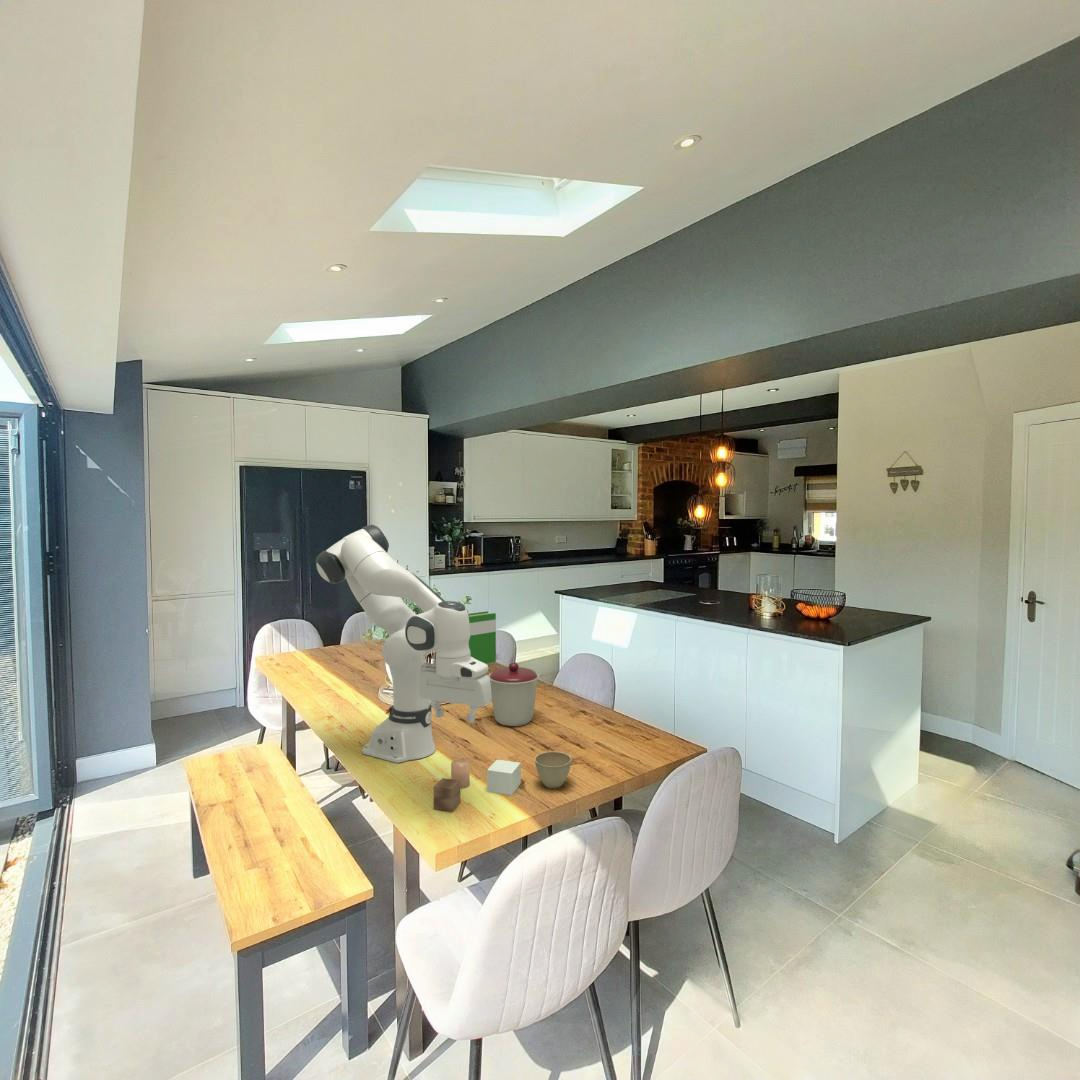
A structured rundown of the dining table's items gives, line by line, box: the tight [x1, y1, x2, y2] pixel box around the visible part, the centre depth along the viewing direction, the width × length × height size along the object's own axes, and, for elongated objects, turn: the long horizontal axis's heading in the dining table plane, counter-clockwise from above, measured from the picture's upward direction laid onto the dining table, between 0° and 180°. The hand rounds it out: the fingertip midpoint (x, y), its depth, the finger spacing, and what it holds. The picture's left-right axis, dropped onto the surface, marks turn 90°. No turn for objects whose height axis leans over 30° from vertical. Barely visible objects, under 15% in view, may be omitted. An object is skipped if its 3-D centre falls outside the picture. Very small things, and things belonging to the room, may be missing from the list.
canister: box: [487, 662, 540, 727], centre depth 212 cm, size 18×18×21 cm
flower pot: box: [534, 750, 572, 789], centre depth 164 cm, size 10×10×7 cm
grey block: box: [486, 759, 522, 796], centre depth 162 cm, size 7×7×6 cm
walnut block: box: [432, 777, 461, 814], centre depth 151 cm, size 5×5×6 cm
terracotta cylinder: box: [450, 758, 471, 790], centre depth 164 cm, size 5×5×6 cm
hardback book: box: [468, 610, 497, 665], centre depth 291 cm, size 18×7×24 cm, turn 130°
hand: (454, 719), depth 153 cm, fingers open, 8 cm apart
